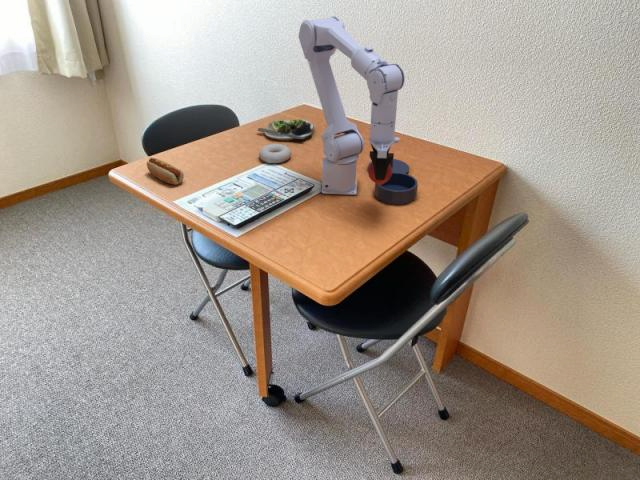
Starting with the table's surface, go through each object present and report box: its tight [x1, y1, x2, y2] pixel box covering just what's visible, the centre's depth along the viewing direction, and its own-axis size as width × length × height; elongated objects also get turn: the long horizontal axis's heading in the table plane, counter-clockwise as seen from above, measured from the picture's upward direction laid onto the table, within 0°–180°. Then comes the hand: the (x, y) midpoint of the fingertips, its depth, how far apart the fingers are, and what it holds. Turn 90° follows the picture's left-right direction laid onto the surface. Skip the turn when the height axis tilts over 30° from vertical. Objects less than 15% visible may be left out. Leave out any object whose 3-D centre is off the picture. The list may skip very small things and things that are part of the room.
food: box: [146, 157, 185, 186], centre depth 137 cm, size 14×6×5 cm, turn 49°
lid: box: [367, 156, 410, 174], centre depth 142 cm, size 12×12×5 cm
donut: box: [258, 143, 292, 164], centre depth 149 cm, size 10×4×10 cm
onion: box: [367, 163, 392, 185], centre depth 117 cm, size 6×6×8 cm
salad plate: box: [256, 119, 315, 142], centre depth 166 cm, size 19×18×5 cm
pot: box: [374, 172, 419, 206], centre depth 129 cm, size 11×11×4 cm
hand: (379, 173), depth 118 cm, fingers closed on onion, 6 cm apart
